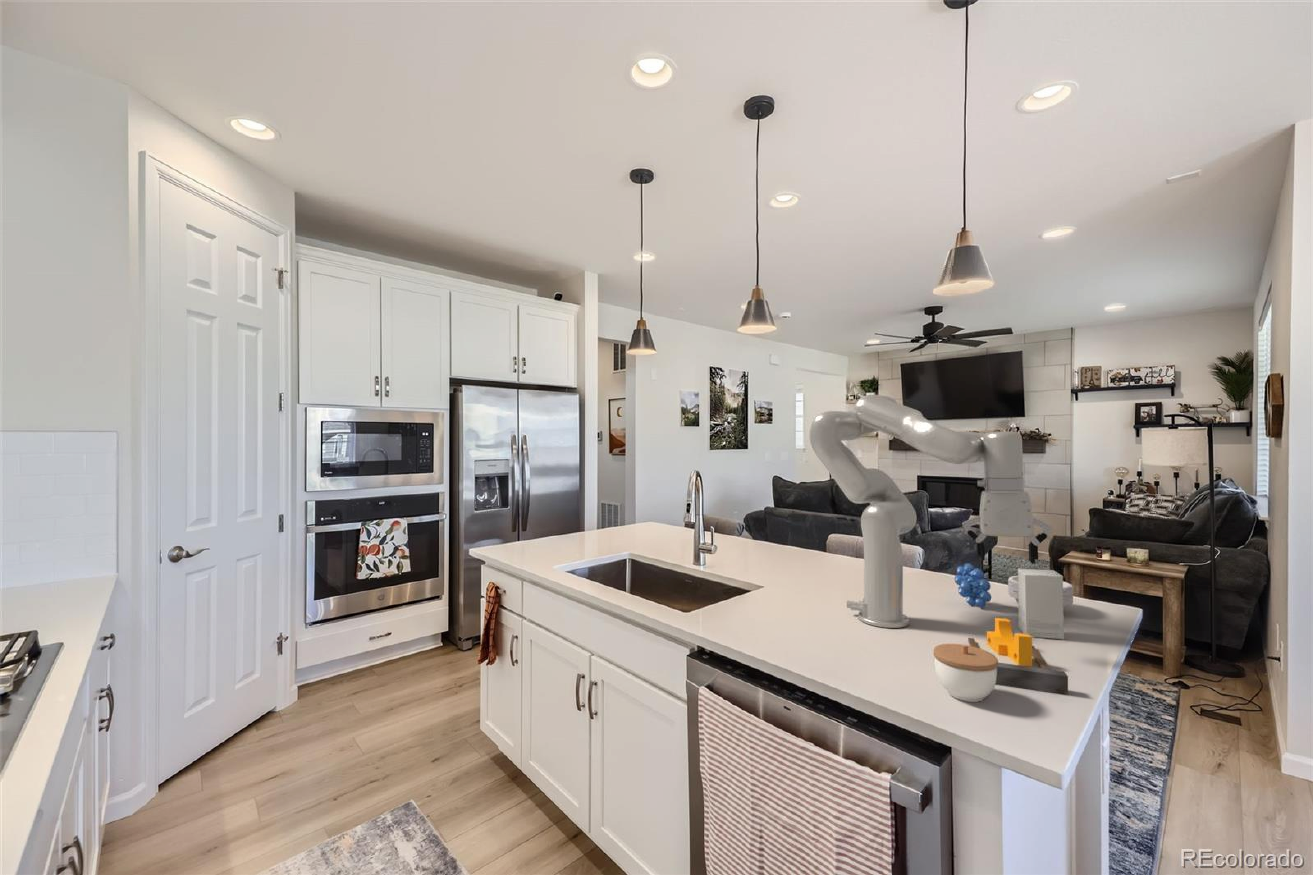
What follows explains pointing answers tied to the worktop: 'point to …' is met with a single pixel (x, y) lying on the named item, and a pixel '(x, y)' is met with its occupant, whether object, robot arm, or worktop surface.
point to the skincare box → (1041, 603)
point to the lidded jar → (965, 671)
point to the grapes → (973, 585)
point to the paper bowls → (1066, 590)
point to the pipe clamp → (1010, 643)
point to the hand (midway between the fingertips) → (1006, 561)
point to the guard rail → (1031, 675)
